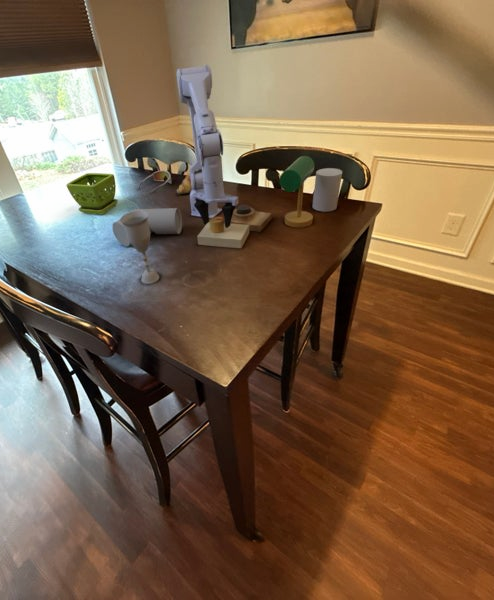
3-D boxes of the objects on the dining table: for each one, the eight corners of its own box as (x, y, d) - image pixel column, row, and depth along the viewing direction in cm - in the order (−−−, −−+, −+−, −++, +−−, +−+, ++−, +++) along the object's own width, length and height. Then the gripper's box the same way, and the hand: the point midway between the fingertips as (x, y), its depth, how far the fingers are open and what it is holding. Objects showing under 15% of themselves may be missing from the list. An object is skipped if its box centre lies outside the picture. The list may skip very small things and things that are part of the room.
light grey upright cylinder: (337, 211, 107) (343, 175, 99) (313, 211, 109) (317, 176, 101) (335, 202, 113) (340, 167, 105) (311, 202, 115) (315, 168, 107)
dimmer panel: (198, 244, 98) (197, 235, 96) (208, 230, 106) (208, 221, 104) (241, 248, 94) (240, 239, 92) (249, 233, 101) (249, 224, 99)
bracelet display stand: (277, 228, 102) (279, 169, 90) (291, 211, 111) (295, 155, 99) (305, 232, 97) (312, 171, 86) (317, 214, 106) (324, 156, 95)
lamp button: (235, 214, 105) (234, 209, 104) (240, 209, 108) (240, 204, 107) (247, 215, 103) (246, 210, 102) (252, 210, 106) (252, 205, 105)
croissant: (184, 204, 134) (188, 190, 128) (167, 191, 136) (170, 175, 130) (214, 187, 146) (219, 173, 139) (199, 175, 148) (203, 160, 141)
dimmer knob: (208, 232, 98) (207, 221, 95) (213, 226, 101) (212, 215, 98) (221, 233, 96) (221, 222, 94) (226, 227, 99) (225, 215, 97)
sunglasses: (178, 182, 147) (175, 172, 144) (155, 197, 141) (152, 187, 137) (158, 178, 155) (155, 168, 152) (136, 192, 149) (132, 182, 145)
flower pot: (76, 215, 129) (64, 184, 121) (97, 202, 138) (87, 172, 130) (103, 217, 124) (93, 185, 116) (123, 203, 133) (114, 173, 126)
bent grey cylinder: (154, 215, 117) (111, 238, 105) (153, 189, 109) (106, 210, 98) (190, 235, 110) (148, 261, 98) (191, 208, 102) (145, 234, 91)
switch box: (227, 226, 106) (226, 215, 104) (239, 215, 113) (239, 204, 110) (260, 232, 101) (260, 220, 98) (271, 219, 107) (271, 208, 105)
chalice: (139, 272, 89) (122, 213, 78) (162, 269, 89) (149, 209, 78) (136, 287, 83) (117, 225, 72) (162, 284, 83) (147, 221, 72)
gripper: (184, 183, 89) (190, 227, 98) (229, 187, 83) (232, 233, 91) (197, 175, 94) (202, 217, 102) (240, 178, 88) (242, 223, 96)
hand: (217, 224), depth 97 cm, fingers open, 7 cm apart
